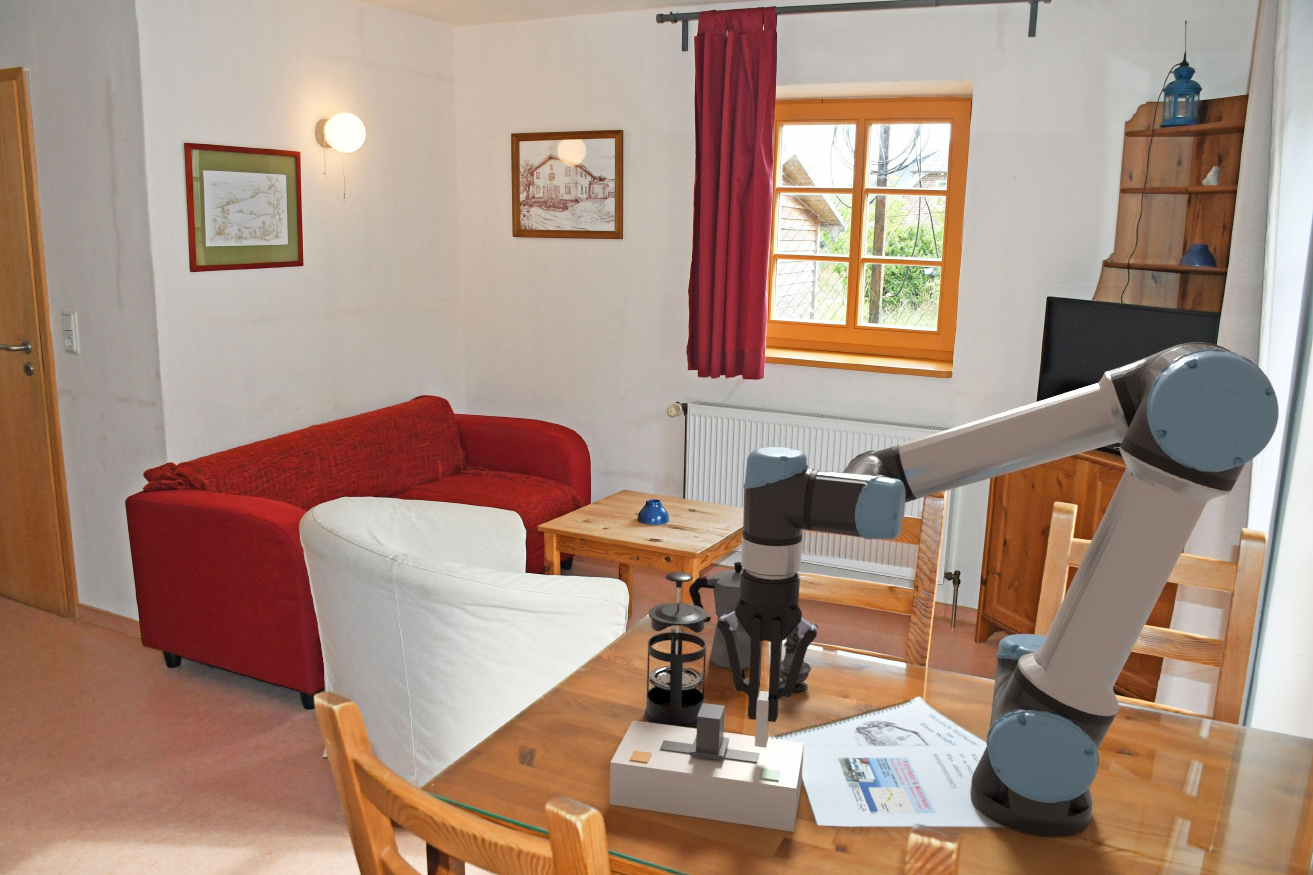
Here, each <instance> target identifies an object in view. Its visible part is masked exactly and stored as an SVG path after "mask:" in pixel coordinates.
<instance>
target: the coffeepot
mask: <svg viewBox="0 0 1313 875" xmlns="http://www.w3.org/2000/svg"><path fill="white" fill-rule="evenodd" d="M733 564H734V570H733V569H732V570H731V569H730V570H725V571H721V572H716V573H714V574H713V576H704V577H701V576H700V577H697V578H696V579H695V580H694V581H693V583H692V584H691V585H690V586H689V588H688V589H689V590H688V592H689V595H690V597H691V602H692V605H695V606H698V607H701V608H703V609H704V606H703V604H702V599H701V598H702V597H701V593H700V592H699V591H700V590H701V589H702V588H703V589H704V588H706V589H713V597H714V598H713V599H714V606H715V615H716V616H717V620H716V621H717V622H716V624H715V630H714V636H713V639H712V640H713V642H712V646H711V651H710V654H709V656H710V657H709V660H710V661H711V662H712V663H713V664H714V665H715V666H718V667H720V668H724V669H729V670H731V666H730V661H729V656H728V651H727V647H726V642H725V638H724V636H723V634H722V633H721V631H720V629H719V628H718V625H717V623H718V621H719V619H720V617H721V615H722V614H727V615H728V614H730V613H731V612H733V611H735V608H736V606H737V604H738V602H739V596H740V574H741V571H742V570H743V567H742V566H741V561H736V562H734V563H733ZM704 610H705V609H704ZM711 620H712V617H711V616H707V618H706V620H704V623H709V622H710V621H711ZM737 623H738V626H737V628H736V631H737V635H738V640H739V645H740V650H741V654H742V659H743V664H744V669H746V670H747V669H750V653H751V648H750V644H751V637H750V636H749V635H748V634H747V632H746V631H745V629H744V628H743V626H742V625H741V623H740V622H739V620H737Z"/></svg>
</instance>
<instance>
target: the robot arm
mask: <svg viewBox="0 0 1313 875" xmlns="http://www.w3.org/2000/svg"><path fill="white" fill-rule="evenodd" d="M1279 411H1280V410H1279V401H1278V397H1277V394H1276V391H1275V390H1274V386H1273V385H1272V383H1271V381H1270V379H1269V378H1268V376H1267V375H1266V373H1265V372H1264V371H1263V369H1261V368H1260V367H1259V365H1257V364H1256V363H1254V362H1253V361H1252V360H1251V359H1250V358H1248V357H1246V356H1243V355H1241V354H1238V353H1237V352H1235V351H1232V350H1230V349H1228V348H1226V347H1223V346H1220V345H1218V344H1215V343H1209V342H1203V341H1202V342H1201V341H1195V342H1191V341H1190V342H1187V343H1181V344H1180V343H1179V344H1177V345H1174V346H1171V347H1168V348H1167V349H1163V350H1161V351H1158V352H1156V353H1154V354H1151V355H1149V356H1147V357H1144V358H1142V359H1139V360H1136V361H1133V362H1132V363H1129V364H1125V365H1123V366H1120V367H1117V368H1113V369H1110V370H1108V371H1105V372H1104V374H1103V375H1102V377H1101V379H1100V380H1099V381H1098V382H1097V383H1094V384H1091V385H1088V386H1084V387H1081V388H1078V389H1075V390H1071V391H1068V392H1064V393H1062V394H1059V395H1055V396H1053V397H1049V398H1046V399H1043V400H1039V401H1036V402H1033V403H1030V404H1027V405H1026V404H1025V405H1024V406H1023V405H1022V406H1019V407H1017V408H1013V409H1010V410H1006V411H1003V412H1000V413H996V414H994V415H991V416H987V417H985V418H982V419H978V420H975V421H971V422H968V423H964V424H961V425H958V426H955V427H952V428H948V429H945V430H943V431H938V432H936V433H933V434H929V435H926V436H923V437H919V438H916V439H913V440H910V441H907V442H903V443H900V444H898V445H894V446H890V447H888V448H884V449H877V448H875V449H868V450H867V451H864V452H862V453H859V454H857V455H856V456H855V457H854V458H853V459H851V460H850V461H849V463H848V465H846V467H845V468H844V470H843V471H842V472H838V471H827V470H819V469H814V468H809V464H808V461H807V460H808V459H807V458H808V457H807V454H806V453H804V452H803V451H801V450H799V449H792V448H790V447H783V446H782V447H780V446H767V447H760V448H756V449H754V450H753V451H751V452H750V453H749V454H748V455H747V458H746V467H745V477H744V478H745V479H744V483H743V516H742V517H743V519H742V534H741V550H740V551H741V554H740V555H741V556H740V562H741V566H742V571H741V574H740V596H739V602H738V604H737V606H736V608H735V611H733V612H731V613H730V614H728V615H727V614H722V615H721V617H720V619H719V621H718V623H717V622H716V625H718V628H719V629H720V631H721V633H722V634H723V636H724V638H725V642H726V647H727V651H728V656H729V661H730V666H731V669H730V670H731V674H732V681H733V686H734V689H735V691H737V692H742V693H745V694H746V695H747V697H748V701H747V702H748V704H747V705H748V706H747V717H748V720H754V721H755V730H754V731H755V732H754V733H755V734H754V736H755V746H757V747H764V748H766V746H767V742H768V738H769V734H770V732H769V731H770V722H771V723H776V721H777V720H778V718H779V705H780V699H781V698H791V697H792V696H793V690H794V687H795V684H796V681H797V678H798V675H799V672H800V669H801V666H802V663H803V660H804V659H805V656H806V653H807V650H808V648H809V646H810V645H811V643H813V641H814V640H815V639H816V637H818V636H817V635H818V630H819V626H818V625H817V624H816V623H814V622H812V623H811V622H809V621H808V620H806V619H805V618H804V617H803V613H802V610H801V608H800V605H799V600H800V584H801V582H800V580H801V575H800V573H799V571H800V570H801V566H802V552H803V549H802V548H803V531H804V530H806V531H813V532H814V531H815V532H821V533H828V534H835V535H843V536H850V537H857V538H862V539H866V540H869V541H870V540H888V541H889V540H890V541H892V540H895V539H896V538H898V537H899V536H900V534H901V532H902V526H903V523H904V516H905V510H906V509H905V507H906V503H909V502H912V501H915V500H918V499H921V498H925V497H928V496H932V495H936V494H939V493H943V492H946V491H950V490H954V489H957V488H961V487H965V486H968V485H971V484H975V483H978V482H982V481H985V480H989V479H993V478H996V477H999V476H1004V475H1007V474H1010V473H1015V472H1017V471H1021V470H1025V469H1028V468H1032V467H1035V466H1039V465H1043V464H1045V463H1048V462H1053V461H1057V460H1060V459H1063V458H1066V457H1067V458H1068V457H1071V456H1074V455H1079V454H1081V453H1085V452H1086V453H1087V452H1088V451H1089V452H1090V451H1093V450H1096V449H1098V448H1103V447H1107V446H1109V445H1110V446H1111V445H1113V444H1118V443H1120V445H1119V449H1118V450H1119V452H1120V454H1121V456H1122V460H1123V461H1124V464H1125V470H1124V473H1123V474H1122V476H1121V478H1120V479H1119V480H1120V481H1119V483H1118V484H1117V487H1116V489H1115V491H1114V493H1113V495H1112V497H1111V500H1110V501H1109V504H1108V505H1107V507H1106V510H1105V511H1104V514H1103V516H1102V519H1101V520H1100V522H1099V524H1098V526H1097V529H1096V530H1095V533H1094V535H1093V536H1092V539H1091V541H1090V543H1089V546H1088V547H1087V549H1086V551H1085V554H1084V556H1083V558H1082V560H1081V562H1080V565H1079V566H1078V568H1077V571H1076V572H1075V574H1074V577H1073V579H1072V580H1071V583H1070V585H1069V586H1068V587H1069V588H1068V589H1067V592H1066V593H1065V595H1064V597H1063V599H1062V601H1061V604H1060V606H1059V609H1057V610H1058V611H1057V612H1056V614H1055V616H1054V618H1053V620H1052V622H1051V625H1050V626H1049V629H1048V631H1047V633H1046V635H1043V634H1033V633H1032V634H1031V633H1018V634H1011V635H1007V636H1004V637H1003V638H1002V639H1000V641H999V643H998V649H997V653H996V654H995V659H996V666H995V667H996V669H995V679H994V688H993V694H992V695H993V698H992V706H991V712H990V713H991V714H990V720H989V721H990V722H989V729H988V732H987V735H986V741H985V742H986V747H985V750H984V751H983V753H982V755H981V757H980V759H979V761H978V763H977V766H976V767H975V770H974V771H973V774H972V777H971V782H970V783H971V784H970V793H969V794H970V799H971V801H972V803H973V805H974V806H975V807H976V809H977V810H978V811H979V812H981V814H983V815H984V816H986V817H987V818H988V819H990V820H992V821H993V822H995V823H997V824H999V825H1000V826H1003V827H1005V828H1008V829H1009V830H1013V831H1017V832H1020V833H1024V834H1027V835H1033V836H1037V837H1038V836H1039V837H1049V838H1050V837H1051V838H1052V837H1053V838H1058V837H1067V836H1073V835H1076V834H1079V833H1081V832H1083V831H1084V830H1085V829H1086V828H1088V827H1089V826H1090V824H1091V820H1092V814H1093V798H1092V794H1091V793H1092V792H1091V790H1090V788H1091V786H1092V785H1093V783H1094V781H1095V779H1096V776H1097V774H1098V771H1099V768H1098V767H1099V766H1100V755H1099V750H1100V747H1101V745H1102V743H1103V741H1104V739H1105V737H1106V735H1107V733H1108V731H1109V729H1110V727H1111V726H1112V724H1113V721H1114V720H1115V717H1116V715H1117V713H1118V712H1119V709H1120V704H1119V700H1118V698H1117V696H1116V693H1115V692H1114V686H1115V684H1116V683H1117V680H1118V678H1119V677H1120V674H1121V672H1122V671H1123V669H1124V666H1125V664H1126V662H1127V660H1128V658H1129V656H1130V655H1131V653H1132V651H1133V648H1134V647H1135V644H1136V643H1137V641H1138V639H1139V637H1140V635H1141V633H1142V631H1143V630H1144V627H1145V625H1146V623H1147V622H1148V620H1149V617H1150V615H1151V614H1152V611H1153V609H1154V607H1155V605H1156V604H1157V602H1158V600H1159V598H1160V596H1161V593H1162V592H1163V591H1164V587H1165V586H1166V584H1167V582H1168V581H1169V578H1170V576H1171V574H1172V572H1173V570H1174V568H1175V567H1176V564H1177V563H1178V560H1179V559H1180V556H1181V554H1182V552H1183V550H1184V549H1185V547H1186V544H1187V542H1188V540H1189V538H1190V537H1191V535H1192V533H1193V531H1194V529H1195V527H1196V525H1197V523H1198V521H1199V519H1200V517H1201V516H1202V513H1203V511H1204V510H1205V508H1206V505H1207V504H1208V502H1210V501H1211V500H1214V499H1217V498H1220V497H1223V496H1226V495H1229V494H1230V493H1231V492H1232V491H1233V488H1234V487H1235V484H1236V483H1237V480H1238V479H1239V477H1240V476H1241V473H1242V471H1243V469H1244V468H1245V466H1246V464H1247V463H1249V462H1250V461H1252V460H1253V459H1254V458H1256V457H1257V456H1258V455H1259V454H1261V452H1263V451H1264V450H1265V449H1266V447H1267V445H1268V444H1269V443H1270V441H1271V440H1272V438H1273V436H1274V434H1275V432H1276V428H1277V426H1278V422H1279V414H1280V413H1279ZM737 620H739V622H740V623H741V625H742V626H743V628H744V629H745V631H746V632H747V634H748V635H749V636H750V637H751V644H750V648H751V653H750V668H749V675H748V678H749V679H747V675H746V670H745V669H744V664H743V659H742V654H741V650H740V645H739V640H738V635H737V631H736V628H737V626H738V623H737ZM796 626H798V628H799V630H798V637H799V638H800V639H799V642H798V645H797V648H796V651H795V654H794V657H793V660H792V663H791V666H790V669H789V672H788V675H787V679H786V682H785V683H783V684H780V681H781V678H780V676H781V661H782V656H783V655H782V653H783V643H784V642H783V641H785V640H787V636H788V635H789V634H790V633H791V632H792V631H793V630H794V629H795V628H796ZM766 641H767V642H769V643H770V658H769V659H770V660H769V677H768V678H769V681H768V691H766V690H760V688H761V674H762V673H761V672H762V656H763V642H766Z"/></svg>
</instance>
